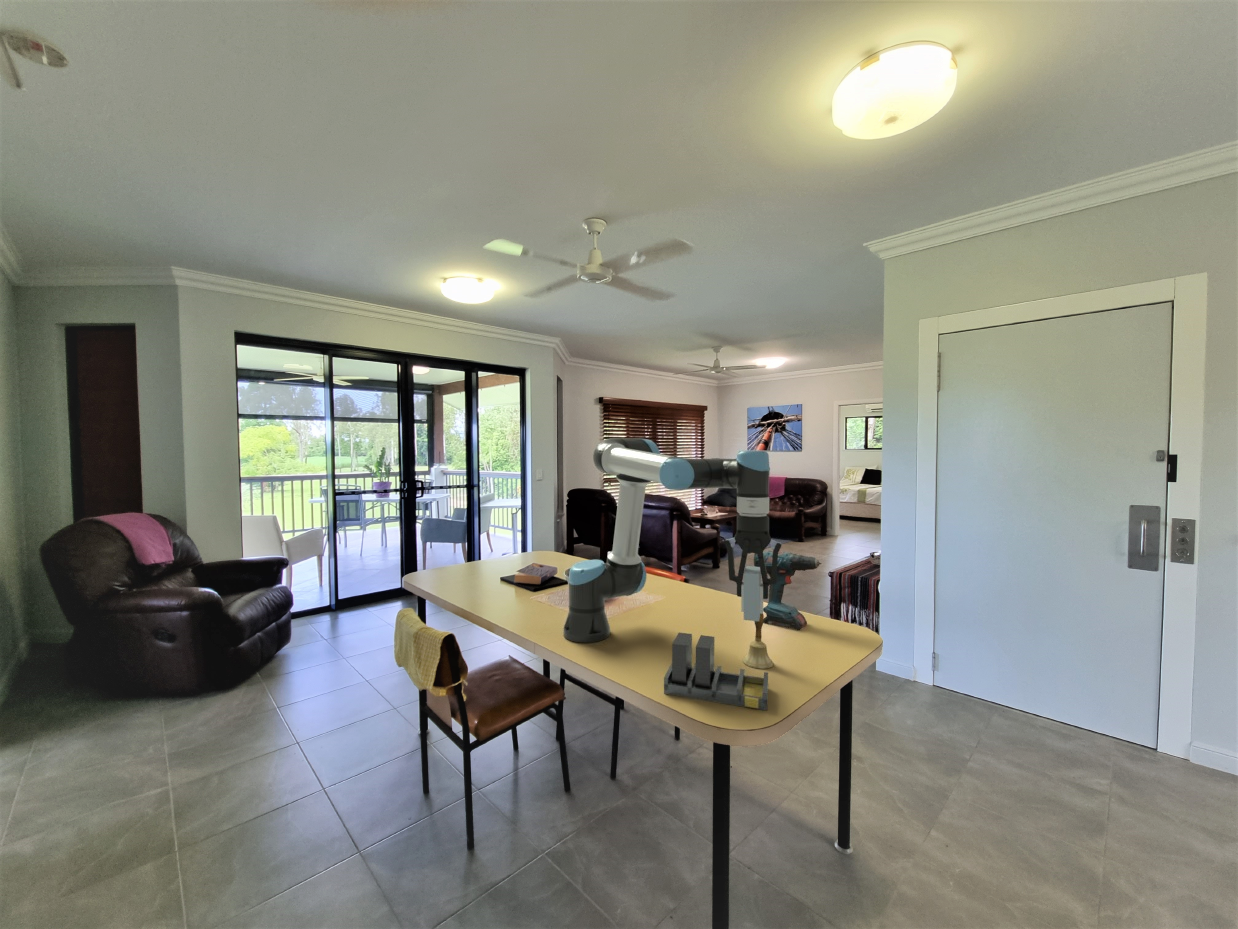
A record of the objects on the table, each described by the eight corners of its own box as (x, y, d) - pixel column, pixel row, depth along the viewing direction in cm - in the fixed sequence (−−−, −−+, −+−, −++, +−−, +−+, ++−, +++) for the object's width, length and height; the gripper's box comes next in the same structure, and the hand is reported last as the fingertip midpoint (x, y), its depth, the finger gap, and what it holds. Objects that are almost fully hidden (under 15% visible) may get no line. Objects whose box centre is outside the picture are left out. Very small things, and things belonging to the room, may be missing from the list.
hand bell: (750, 654, 142) (750, 600, 141) (777, 662, 136) (778, 606, 136) (737, 663, 135) (738, 607, 135) (766, 672, 130) (766, 613, 130)
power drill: (817, 635, 157) (818, 559, 156) (749, 620, 171) (750, 550, 170) (824, 627, 164) (825, 554, 163) (759, 613, 178) (759, 546, 177)
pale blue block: (743, 619, 113) (743, 573, 113) (746, 609, 120) (746, 566, 120) (759, 621, 112) (759, 574, 112) (760, 611, 119) (760, 567, 119)
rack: (663, 694, 117) (663, 646, 117) (673, 674, 128) (673, 629, 128) (766, 712, 110) (767, 659, 109) (768, 688, 121) (768, 641, 120)
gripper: (716, 514, 115) (715, 612, 115) (789, 517, 110) (788, 619, 110) (719, 511, 122) (719, 603, 122) (789, 514, 117) (788, 609, 117)
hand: (752, 610), depth 116 cm, fingers closed on pale blue block, 3 cm apart
